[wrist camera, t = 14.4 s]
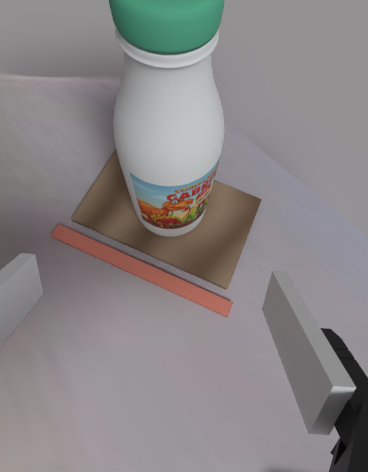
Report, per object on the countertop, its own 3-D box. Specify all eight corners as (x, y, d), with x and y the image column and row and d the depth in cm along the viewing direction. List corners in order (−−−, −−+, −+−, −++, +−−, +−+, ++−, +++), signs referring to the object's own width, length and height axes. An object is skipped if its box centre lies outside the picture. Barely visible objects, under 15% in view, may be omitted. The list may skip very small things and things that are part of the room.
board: (73, 221, 28) (71, 218, 27) (121, 145, 31) (120, 142, 31) (226, 289, 26) (227, 288, 26) (259, 201, 30) (261, 199, 29)
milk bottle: (121, 217, 28) (11, -14, 9) (158, 164, 30) (135, -106, 11) (183, 251, 27) (210, 76, 8) (217, 194, 29) (300, -46, 10)
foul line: (52, 237, 27) (50, 236, 27) (60, 225, 28) (58, 223, 27) (226, 317, 25) (227, 316, 25) (232, 302, 26) (232, 302, 25)
